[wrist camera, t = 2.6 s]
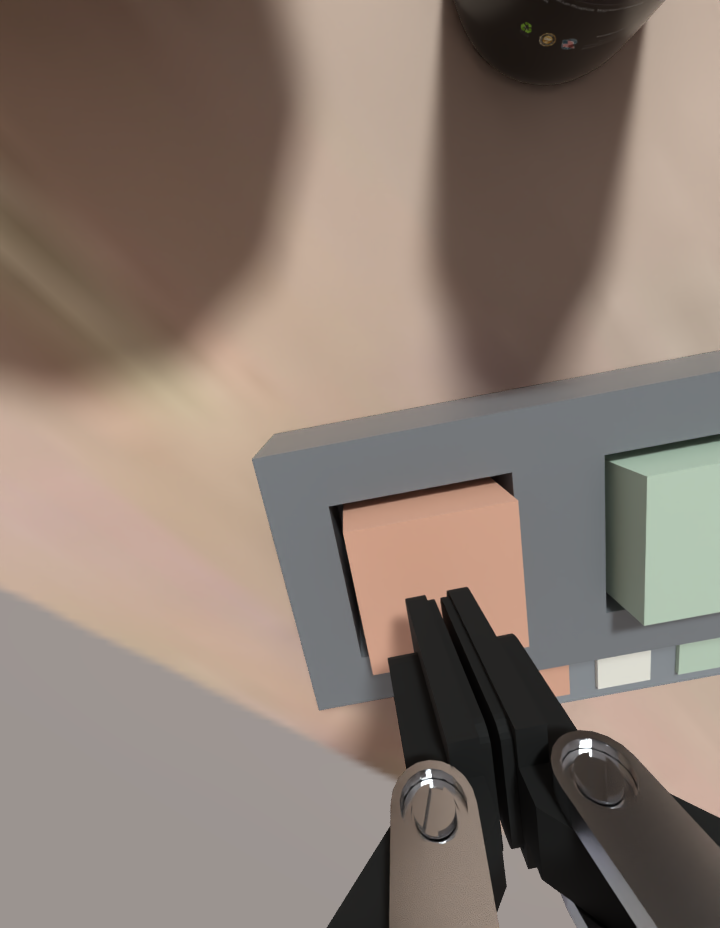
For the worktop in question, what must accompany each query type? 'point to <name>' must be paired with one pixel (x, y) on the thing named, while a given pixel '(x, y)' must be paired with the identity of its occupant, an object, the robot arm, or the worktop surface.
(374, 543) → the terracotta key
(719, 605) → the sage key
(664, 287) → the worktop surface
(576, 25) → the supplement bottle
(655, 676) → the card
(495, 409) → the keypad
